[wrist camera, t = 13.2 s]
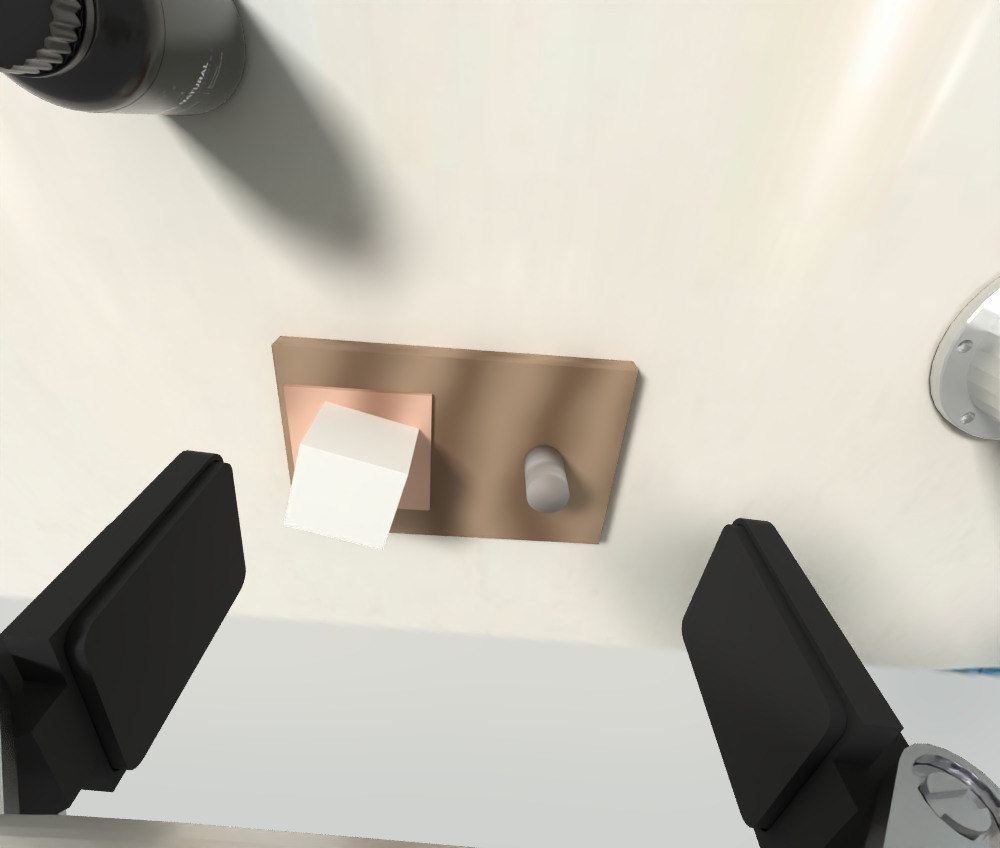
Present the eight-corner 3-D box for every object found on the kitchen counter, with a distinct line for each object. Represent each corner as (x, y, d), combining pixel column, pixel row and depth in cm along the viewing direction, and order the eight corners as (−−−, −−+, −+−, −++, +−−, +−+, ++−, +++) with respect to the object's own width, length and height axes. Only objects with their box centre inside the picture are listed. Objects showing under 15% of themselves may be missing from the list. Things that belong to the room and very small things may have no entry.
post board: (632, 361, 34) (654, 399, 29) (595, 530, 41) (608, 582, 36) (280, 336, 33) (245, 371, 28) (303, 514, 40) (278, 565, 35)
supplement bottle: (244, 135, 28) (93, 147, 17) (101, 85, 26) (-153, 65, 16) (258, -28, 24) (82, -134, 14) (96, -93, 23) (-227, -262, 13)
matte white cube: (419, 428, 34) (408, 474, 30) (396, 499, 37) (382, 550, 33) (325, 401, 33) (299, 444, 29) (308, 475, 36) (283, 525, 32)
